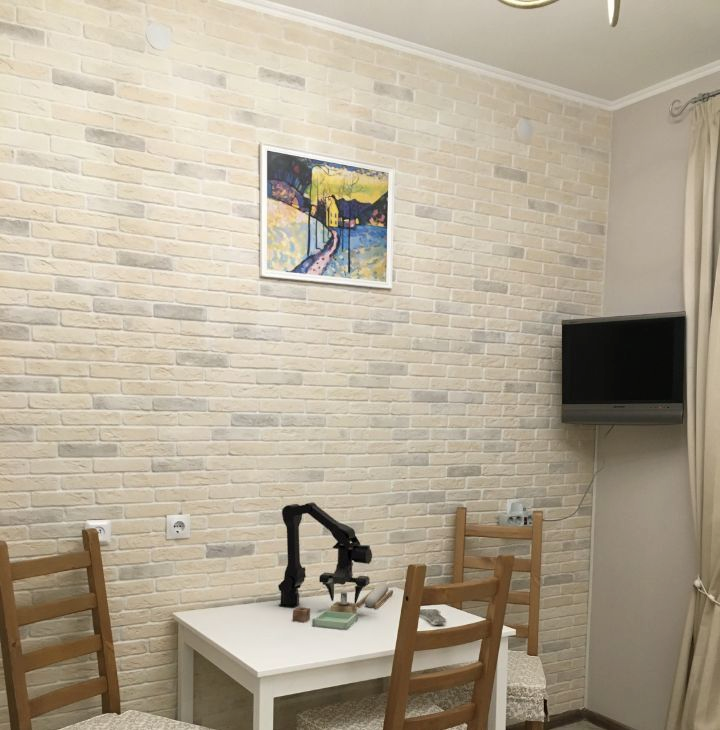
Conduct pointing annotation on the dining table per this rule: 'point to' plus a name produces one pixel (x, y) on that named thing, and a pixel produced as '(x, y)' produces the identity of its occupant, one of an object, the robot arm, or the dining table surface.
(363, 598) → the tube rest
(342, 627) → the tray
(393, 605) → the dining table surface
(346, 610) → the oak block
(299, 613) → the walnut block
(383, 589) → the tube
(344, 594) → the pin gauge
